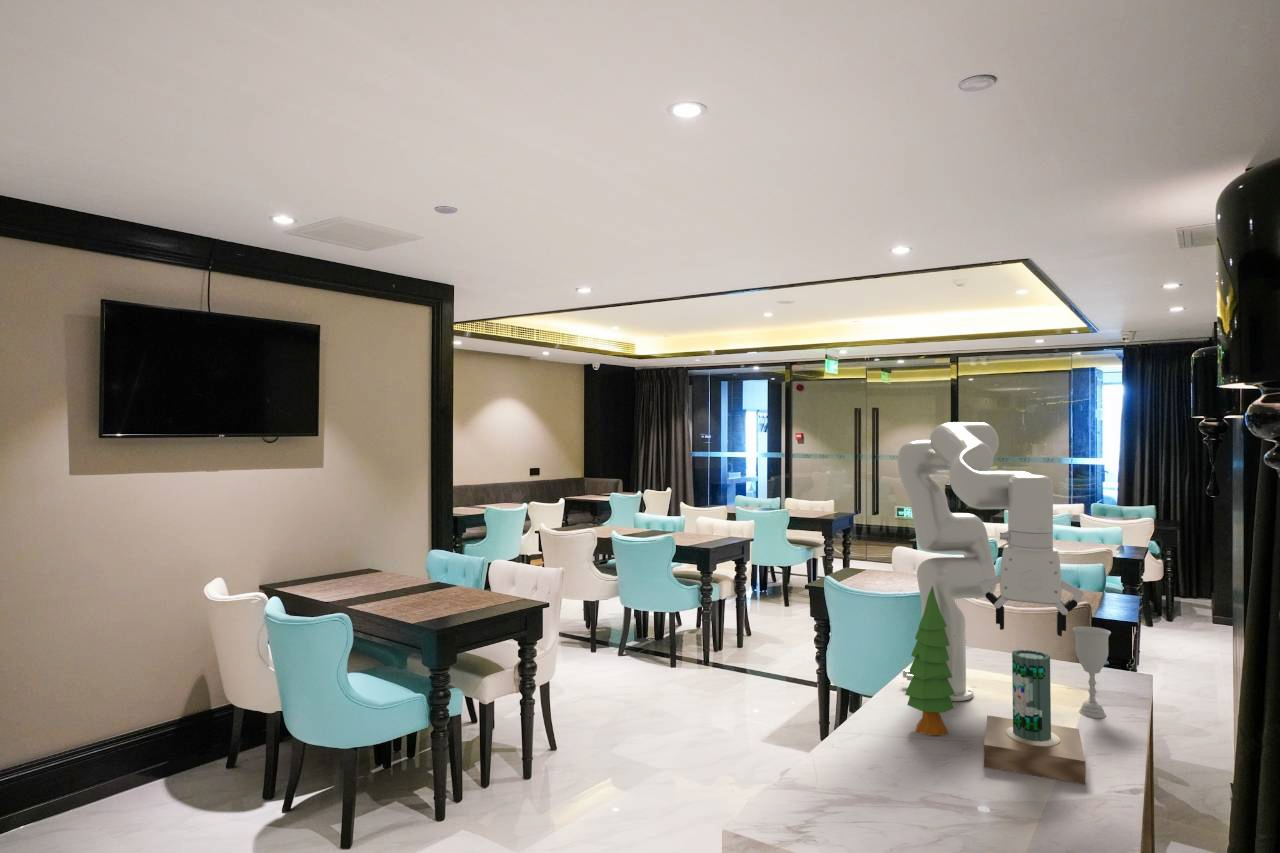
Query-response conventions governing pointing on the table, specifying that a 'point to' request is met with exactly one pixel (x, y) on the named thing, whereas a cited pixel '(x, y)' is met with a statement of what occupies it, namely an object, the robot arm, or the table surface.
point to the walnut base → (1035, 752)
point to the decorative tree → (931, 671)
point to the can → (1031, 695)
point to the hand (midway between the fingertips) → (1030, 631)
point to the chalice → (1091, 662)
